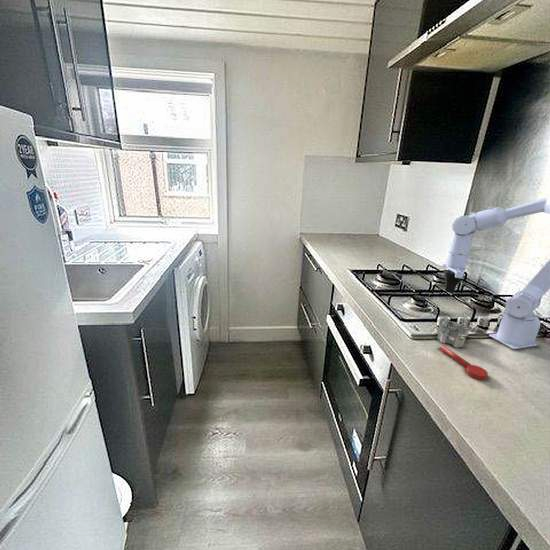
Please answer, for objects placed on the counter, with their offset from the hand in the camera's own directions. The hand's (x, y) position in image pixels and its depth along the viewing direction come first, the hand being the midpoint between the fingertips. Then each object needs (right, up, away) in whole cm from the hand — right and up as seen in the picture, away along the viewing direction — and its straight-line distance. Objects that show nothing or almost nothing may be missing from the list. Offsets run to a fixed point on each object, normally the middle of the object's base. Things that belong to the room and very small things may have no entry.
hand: (448, 291), depth 102 cm
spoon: (-10, -17, -23) cm, 31 cm away
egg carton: (-6, -14, -11) cm, 18 cm away
